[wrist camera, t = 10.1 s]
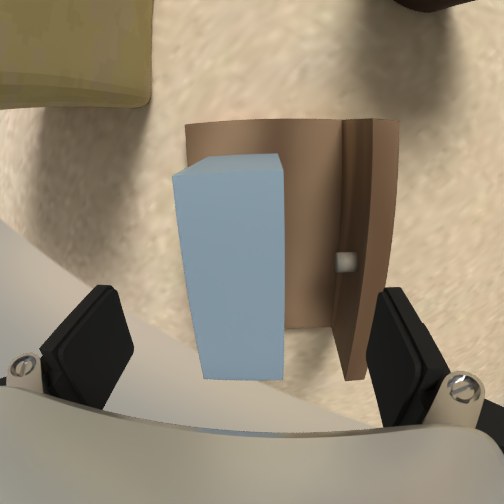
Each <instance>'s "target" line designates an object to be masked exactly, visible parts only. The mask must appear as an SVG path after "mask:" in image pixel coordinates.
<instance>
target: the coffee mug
mask: <svg viewBox="0 0 504 504" xmlns="http://www.w3.org/2000/svg"><path fill="white" fill-rule="evenodd" d="M394 1H396V2H397V3H399V4H400V5H402V6H404V7H406V8H409V9H411V10H414V11H418V12H427V13H430V12H435V11H438V10H442V9H445V8H448V7H452V6H455V5H459V4H463V3H467V2H471V1H475V0H394Z"/></svg>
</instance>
